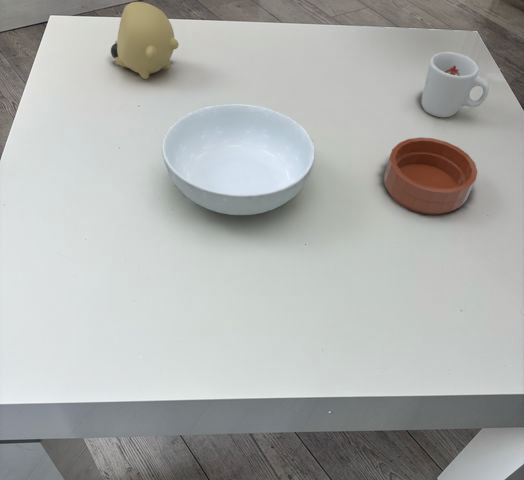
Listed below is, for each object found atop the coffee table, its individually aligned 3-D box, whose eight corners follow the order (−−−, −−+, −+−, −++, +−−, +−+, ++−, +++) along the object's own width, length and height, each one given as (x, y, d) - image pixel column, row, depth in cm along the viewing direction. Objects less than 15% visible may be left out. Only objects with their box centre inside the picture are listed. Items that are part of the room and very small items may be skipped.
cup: (480, 109, 96) (500, 64, 89) (471, 133, 92) (491, 87, 85) (422, 92, 98) (437, 46, 91) (410, 113, 94) (424, 67, 87)
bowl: (470, 175, 85) (481, 150, 81) (459, 226, 78) (472, 202, 74) (391, 154, 87) (399, 129, 83) (374, 203, 80) (382, 177, 76)
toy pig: (166, 79, 101) (135, 22, 98) (195, 46, 91) (162, -18, 88) (124, 96, 96) (90, 37, 93) (150, 64, 86) (112, -4, 83)
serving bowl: (270, 132, 88) (274, 91, 82) (333, 214, 77) (343, 174, 72) (146, 159, 82) (140, 117, 76) (197, 252, 71) (195, 212, 66)
